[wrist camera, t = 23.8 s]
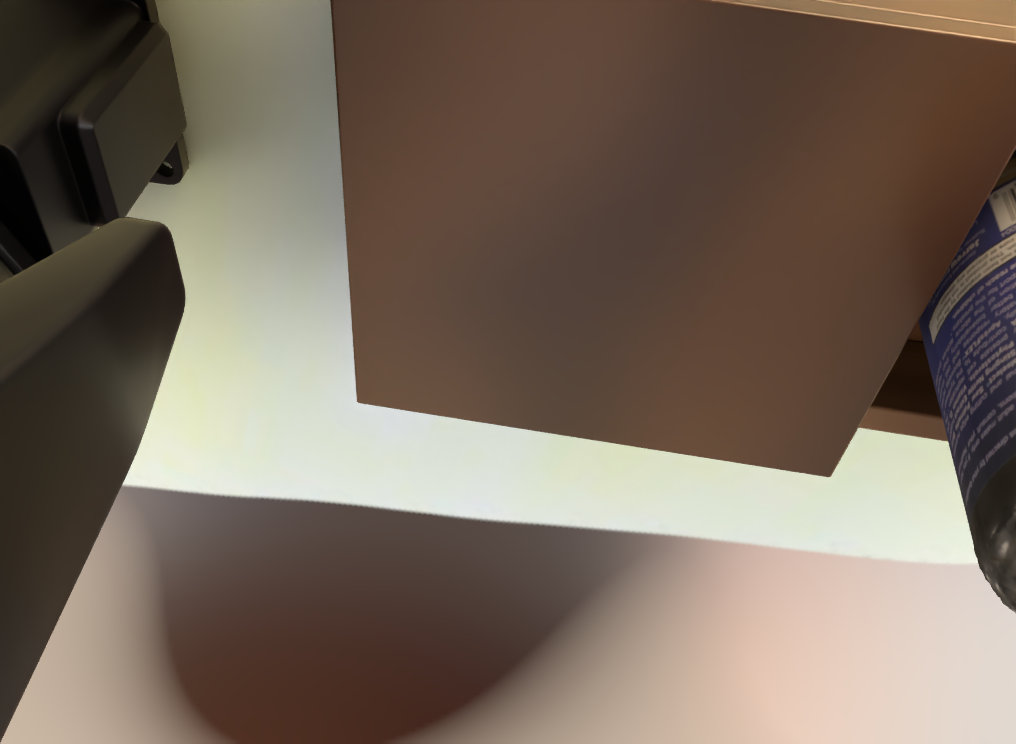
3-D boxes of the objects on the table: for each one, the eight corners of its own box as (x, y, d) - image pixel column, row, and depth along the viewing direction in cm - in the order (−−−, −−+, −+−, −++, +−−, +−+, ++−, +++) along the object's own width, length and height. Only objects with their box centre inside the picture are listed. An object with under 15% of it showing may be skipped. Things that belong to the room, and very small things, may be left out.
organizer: (1000, -82, 17) (1073, 49, 14) (813, 332, 26) (830, 478, 22) (396, -163, 18) (325, -55, 14) (400, 269, 26) (356, 403, 23)
